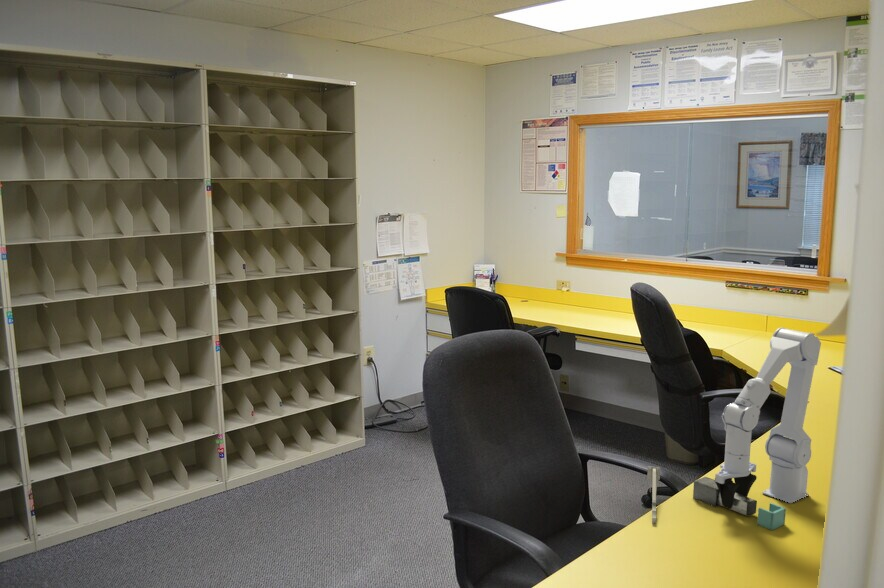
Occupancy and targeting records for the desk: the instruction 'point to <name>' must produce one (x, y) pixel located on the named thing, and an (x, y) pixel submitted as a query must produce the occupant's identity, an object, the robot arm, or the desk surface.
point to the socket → (771, 517)
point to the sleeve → (706, 491)
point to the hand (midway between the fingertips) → (733, 504)
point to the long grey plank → (741, 504)
